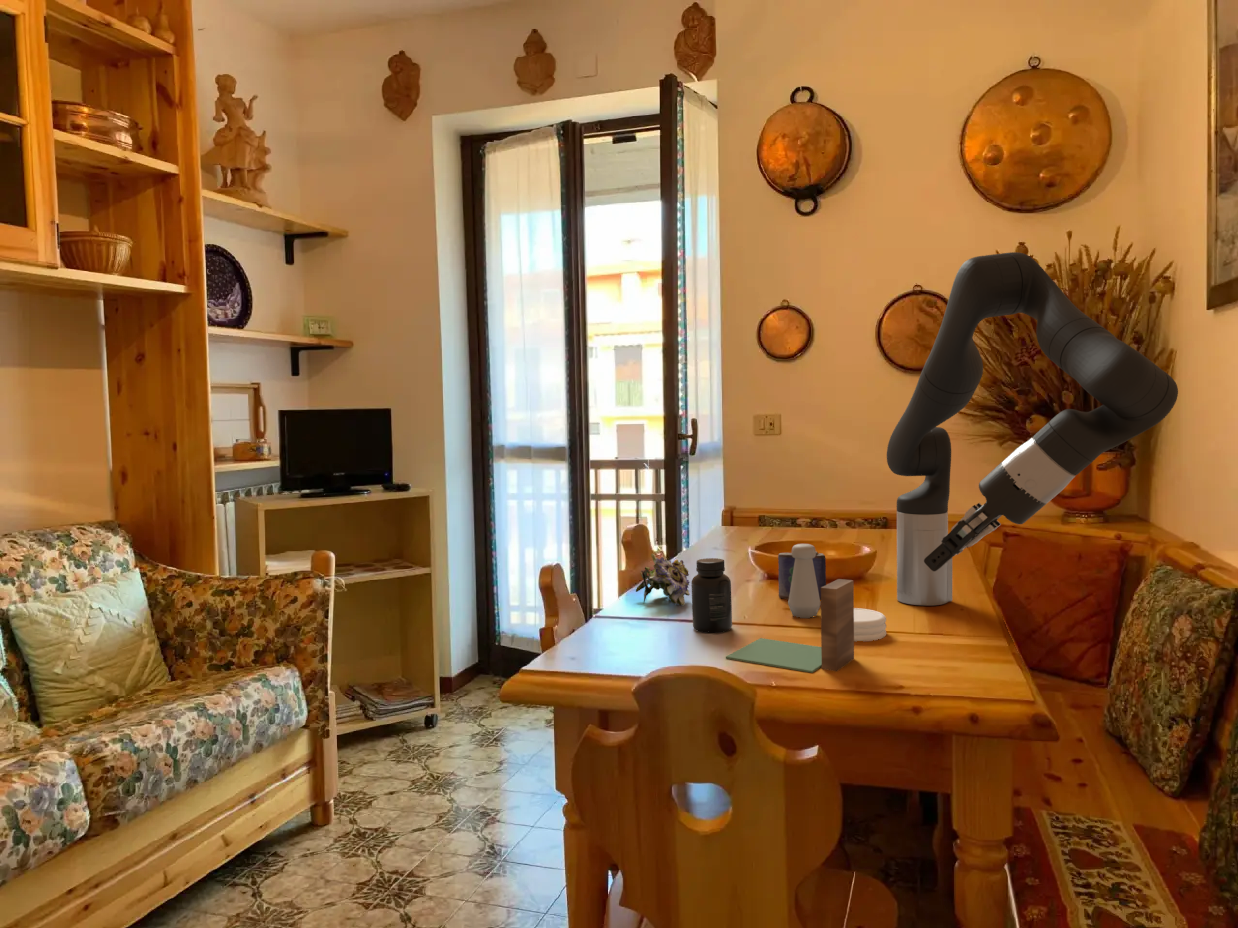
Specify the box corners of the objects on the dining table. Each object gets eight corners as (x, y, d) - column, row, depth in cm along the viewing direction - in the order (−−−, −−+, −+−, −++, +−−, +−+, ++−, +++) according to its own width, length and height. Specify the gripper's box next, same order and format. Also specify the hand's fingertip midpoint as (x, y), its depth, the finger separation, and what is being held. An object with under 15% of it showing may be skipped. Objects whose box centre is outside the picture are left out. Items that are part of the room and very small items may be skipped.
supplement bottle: (735, 624, 152) (734, 557, 152) (727, 634, 146) (726, 564, 145) (697, 622, 155) (696, 556, 154) (688, 632, 148) (686, 563, 147)
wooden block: (854, 658, 131) (853, 580, 130) (836, 671, 125) (836, 589, 124) (838, 656, 132) (837, 578, 131) (820, 668, 127) (819, 587, 126)
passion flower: (680, 632, 169) (681, 591, 161) (627, 619, 172) (626, 578, 164) (695, 590, 177) (696, 549, 169) (644, 578, 180) (643, 538, 172)
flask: (777, 598, 171) (777, 545, 171) (780, 595, 174) (779, 542, 173) (825, 601, 168) (825, 546, 168) (827, 598, 171) (826, 544, 170)
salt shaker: (821, 619, 154) (820, 547, 153) (788, 619, 155) (787, 547, 154) (820, 611, 160) (819, 542, 159) (788, 611, 161) (787, 541, 160)
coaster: (849, 646, 138) (849, 624, 138) (812, 631, 147) (811, 611, 147) (899, 637, 142) (899, 616, 142) (859, 624, 151) (859, 604, 151)
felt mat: (842, 651, 134) (842, 650, 134) (812, 672, 125) (812, 670, 125) (760, 639, 142) (760, 637, 142) (725, 658, 133) (725, 656, 133)
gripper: (1014, 456, 119) (923, 538, 127) (993, 463, 108) (895, 552, 116) (1057, 496, 116) (961, 577, 124) (1039, 507, 105) (936, 596, 113)
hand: (929, 565), depth 120 cm, fingers closed
